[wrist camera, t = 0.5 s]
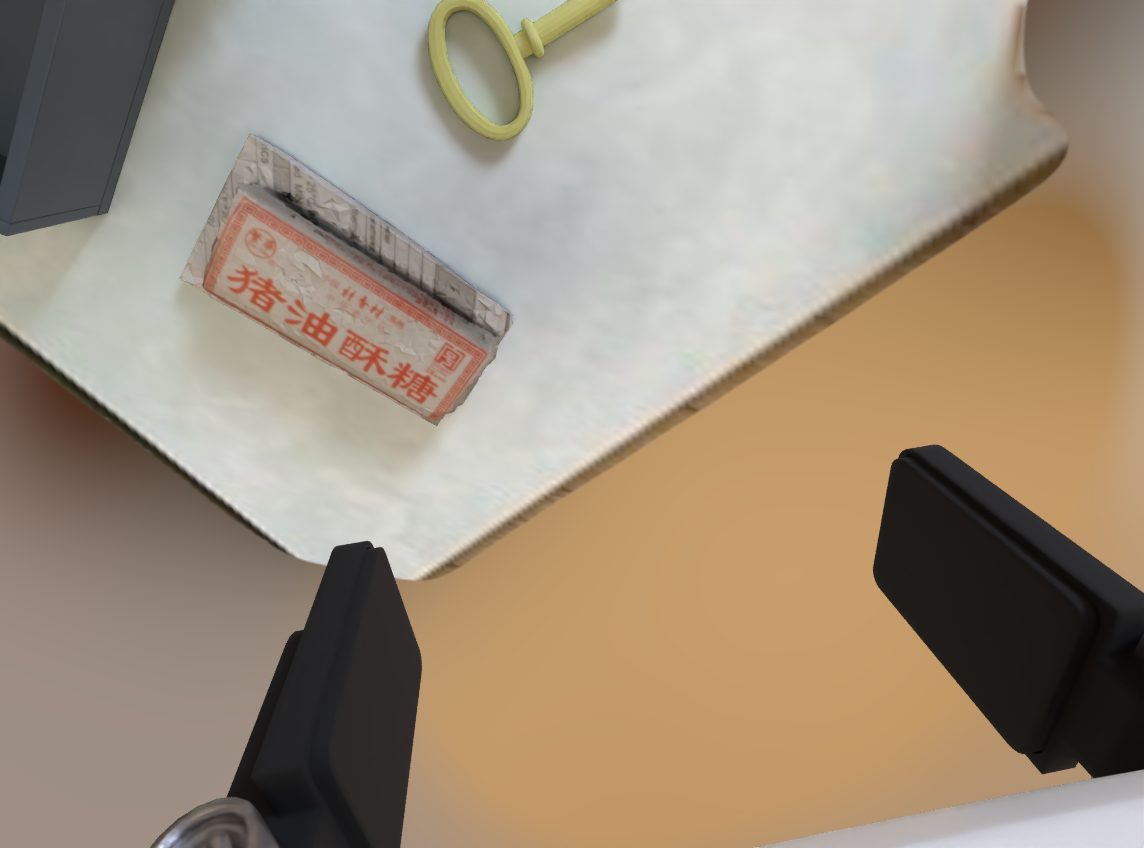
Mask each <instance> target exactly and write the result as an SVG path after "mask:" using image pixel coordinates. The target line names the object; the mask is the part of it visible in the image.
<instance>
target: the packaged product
mask: <svg viewBox="0 0 1144 848" xmlns="http://www.w3.org/2000/svg"><path fill="white" fill-rule="evenodd" d="M179 279H181V280H183V281H185V282H187V283H189V284H191V285H192V286H194V287H196V288H198V289H199V290H201V291H203V292H205V293H206V294H208V295H209V296H210V297H211V298H213V299H215V300H217V301H218V302H220V303H222V304H224V305H226V306H227V307H229V308H231V309H233V310H235V311H238V312H240V313H241V314H243V315H245V316H246V317H248V318H250V319H252V320H253V321H255V322H257V323H259V324H260V325H262V326H264V327H265V328H266V329H268V330H270V331H272V332H274V333H275V334H277V335H279V336H280V337H282V338H284V339H285V340H287V341H289V342H290V343H292V344H294V345H296V346H298V347H299V348H301V349H303V350H305V351H306V352H308V353H310V354H311V355H313V356H315V357H316V358H318V359H320V360H321V361H323V362H325V363H327V364H329V365H330V366H333V367H335V368H338V369H340V370H343V371H345V372H346V373H347V374H348V375H349V376H350V377H352V378H354V379H355V380H357V381H359V382H361V383H362V384H364V385H366V386H368V387H370V388H371V389H373V390H375V391H376V392H378V393H380V394H382V395H384V396H386V397H388V398H389V399H391V400H392V401H394V402H396V403H397V404H399V405H401V406H403V407H404V408H406V409H408V410H409V411H411V412H413V413H415V414H417V415H418V416H420V417H421V418H423V419H425V420H427V421H428V422H430V423H432V424H434V425H436V426H437V425H438V423H439V422H440V421H441V420H442V418H443V417H444V416H445V414H448V413H452V412H454V411H455V410H456V408H457V406H459V405H462V404H463V403H464V401H465V400H466V398H467V397H468V395H469V394H470V392H471V390H472V389H473V387H474V386H475V384H476V383H477V381H478V378H479V377H480V376H481V375H482V372H483V370H484V369H485V368H486V366H487V365H488V364H490V363H491V362H492V361H493V360H494V359H495V357H496V351H497V349H498V348H497V345H498V344H499V342H500V341H501V340H502V338H503V337H504V335H505V334H506V333H507V331H508V330H509V328H510V327H511V325H512V324H513V315H512V314H511V313H509V312H508V311H507V310H506V309H504V308H503V307H502V306H500V305H499V304H498V303H496V302H494V301H493V300H491V299H490V298H488V297H486V296H485V295H483V294H482V293H480V292H479V291H477V290H476V289H475V288H473V287H472V286H471V285H469V284H468V283H467V282H466V281H464V280H463V279H462V278H460V277H459V276H458V275H457V274H455V273H454V272H453V271H451V270H450V269H449V268H448V267H446V266H445V265H444V264H442V263H441V262H440V261H439V260H437V259H436V258H435V257H433V256H432V255H431V254H429V253H428V252H427V251H425V250H424V249H423V248H421V247H420V246H419V245H417V244H416V243H415V242H413V241H412V240H411V239H409V238H408V237H407V236H405V235H404V234H403V233H401V232H400V231H398V230H397V229H396V228H394V227H393V226H391V225H390V224H388V223H387V222H385V221H384V220H382V219H381V218H380V217H378V216H377V215H375V214H374V213H372V212H371V211H369V210H368V209H366V208H365V207H363V206H362V205H361V204H359V203H358V202H356V201H355V200H353V199H352V198H350V197H349V196H347V195H346V194H344V193H343V192H342V191H340V190H339V189H337V188H336V187H334V186H333V185H331V184H330V183H328V182H327V181H325V180H324V179H323V178H321V177H320V176H318V175H317V174H315V173H314V172H312V171H311V170H309V169H308V168H306V167H305V166H304V165H302V164H301V163H299V162H298V161H296V160H295V159H293V158H292V157H290V156H289V155H287V154H286V153H284V152H282V151H281V150H279V149H277V148H276V147H274V146H272V145H271V144H269V143H267V142H266V141H264V140H262V139H261V138H258V137H256V136H253V135H250V134H249V136H248V138H247V141H246V143H245V144H244V146H243V148H242V150H241V152H240V154H239V156H238V158H237V160H236V162H235V165H234V167H233V169H232V171H231V173H230V175H229V176H228V178H227V181H226V183H225V185H224V187H223V189H222V191H221V193H220V195H219V197H218V200H217V202H216V204H215V206H214V208H213V210H212V212H211V214H210V216H209V218H208V221H207V223H206V225H205V227H204V229H203V231H202V233H201V235H200V237H199V238H198V240H197V242H196V244H195V247H194V249H193V251H192V253H191V255H190V257H189V259H188V261H187V265H186V267H185V268H184V270H183V272H182V274H181V276H180V278H179Z"/></svg>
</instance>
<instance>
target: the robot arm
mask: <svg viewBox="0 0 1144 848" xmlns="http://www.w3.org/2000/svg"><path fill="white" fill-rule="evenodd" d="M873 574H874V578H875V581H876V583H877V585H878V587H879V588H880V590H881V591H882V592H883V593H884V594H885V596H886V597H887V598H888V599H889V601H890V602H891V603H892V604H893V605H894V607H895V608H896V609H897V610H898V611H899V613H900V614H901V615H902V616H903V617H904V619H905V620H906V621H907V622H908V624H909V625H910V626H911V627H912V628H913V630H914V631H915V632H916V633H917V634H918V636H919V637H920V638H921V639H922V640H923V642H924V643H925V644H926V645H927V646H928V648H929V649H930V650H931V651H932V653H933V654H934V655H935V656H936V657H937V659H938V660H939V661H940V662H941V663H942V665H943V666H944V667H945V668H946V670H947V671H948V672H949V673H950V674H951V676H952V677H953V678H954V679H955V680H956V682H957V683H958V684H959V685H960V686H961V688H962V689H963V690H964V691H965V693H966V694H967V695H968V696H969V697H970V699H971V700H972V701H973V702H974V703H975V705H976V706H977V707H978V708H979V710H980V711H981V712H982V713H983V714H984V716H985V717H986V718H987V719H988V720H989V721H990V723H991V724H992V725H993V726H994V728H995V729H996V730H997V731H998V733H999V734H1000V735H1001V736H1002V737H1003V738H1004V740H1005V741H1006V742H1007V743H1008V744H1009V745H1010V746H1011V747H1012V749H1014V750H1015V751H1017V752H1018V753H1021V754H1025V755H1026V756H1027V757H1028V758H1029V759H1030V761H1031V762H1032V763H1033V764H1034V765H1035V766H1036V768H1037V769H1038V770H1039V771H1040V772H1041V774H1046V773H1051V772H1056V771H1060V770H1065V769H1070V768H1075V767H1076V765H1077V763H1078V762H1079V763H1080V764H1081V765H1082V766H1083V767H1084V768H1085V769H1086V771H1087V772H1088V773H1089V774H1090V775H1091V779H1089V780H1083V781H1078V782H1073V783H1068V784H1063V785H1058V786H1053V787H1049V788H1044V789H1038V790H1034V791H1028V792H1023V793H1018V794H1014V795H1008V796H1003V797H998V798H993V799H988V800H983V801H979V802H973V803H968V804H963V805H958V806H954V807H948V808H943V809H939V810H933V811H929V812H923V813H918V814H914V815H909V816H904V817H899V818H894V819H889V820H884V821H880V822H875V823H870V824H865V825H860V826H855V827H850V828H846V829H841V830H836V831H831V832H826V833H821V834H816V835H812V836H807V837H802V838H797V839H792V840H787V841H783V842H778V843H773V844H768V845H763V846H759V847H754V848H1144V593H1143V592H1141V591H1140V590H1138V589H1137V588H1136V587H1135V586H1133V585H1132V584H1130V583H1129V582H1127V581H1126V580H1125V579H1124V578H1122V577H1121V576H1119V575H1118V574H1117V573H1115V572H1114V571H1113V570H1111V569H1110V568H1108V567H1107V566H1106V565H1104V564H1103V563H1102V562H1100V561H1099V560H1098V559H1096V558H1095V557H1093V556H1092V555H1091V554H1089V553H1088V552H1087V551H1085V550H1084V549H1082V548H1081V547H1080V546H1078V545H1077V544H1076V543H1074V542H1073V541H1071V540H1070V539H1069V538H1067V537H1066V536H1065V535H1063V534H1062V533H1060V532H1059V531H1058V530H1056V529H1055V528H1053V527H1052V526H1051V525H1050V524H1048V523H1047V522H1045V521H1044V520H1043V519H1041V518H1040V517H1039V516H1037V515H1036V514H1034V513H1033V512H1032V511H1030V510H1029V509H1027V508H1026V507H1025V506H1023V505H1022V504H1021V503H1019V502H1018V501H1017V500H1015V499H1014V498H1012V497H1011V496H1010V495H1008V494H1007V493H1006V492H1004V491H1003V490H1001V489H1000V488H999V487H997V486H996V485H995V484H993V483H992V482H990V481H989V480H988V479H986V478H985V477H984V476H982V475H981V474H980V473H978V472H977V471H975V470H974V469H973V468H971V467H970V466H969V465H967V464H966V463H964V462H963V461H962V460H960V459H959V458H958V457H956V456H955V455H953V454H952V453H951V452H949V451H948V450H946V449H945V448H944V447H942V446H940V445H929V446H923V447H917V448H911V449H906V450H904V451H902V452H901V453H900V455H899V458H898V459H896V460H894V462H893V463H892V465H891V470H890V476H889V482H888V487H887V492H886V498H885V504H884V509H883V515H882V520H881V527H880V532H879V537H878V543H877V549H876V554H875V560H874V566H873ZM421 672H422V661H421V654H420V650H419V647H418V644H417V641H416V638H415V636H414V633H413V630H412V627H411V624H410V621H409V618H408V616H407V613H406V610H405V607H404V604H403V601H402V598H401V595H400V593H399V590H398V587H397V584H396V581H395V578H394V576H393V573H392V570H391V567H390V564H389V561H388V558H387V556H386V553H385V551H384V549H383V548H382V547H378V548H374V547H373V545H372V543H371V542H370V541H364V542H358V543H352V544H346V545H340V546H336V547H335V548H334V549H333V551H332V553H331V556H330V559H329V561H328V564H327V567H326V570H325V573H324V575H323V578H322V581H321V584H320V586H319V589H318V592H317V595H316V597H315V600H314V603H313V606H312V609H311V611H310V614H309V617H308V620H307V622H306V625H305V628H304V630H300V631H295V632H294V633H293V634H292V635H291V636H290V637H289V639H288V641H287V643H286V645H285V648H284V650H283V653H282V655H281V658H280V661H279V663H278V666H277V668H276V671H275V674H274V676H273V679H272V681H271V684H270V687H269V689H268V692H267V695H266V697H265V700H264V702H263V705H262V707H261V710H260V712H259V715H258V718H257V720H256V723H255V726H254V728H253V731H252V733H251V736H250V738H249V741H248V744H247V746H246V749H245V751H244V754H243V756H242V759H241V762H240V764H239V767H238V770H237V772H236V775H235V777H234V780H233V782H232V785H231V788H230V790H229V793H228V795H227V798H219V799H215V800H213V801H210V802H207V803H205V804H203V805H200V806H198V807H196V808H194V809H193V810H191V811H190V812H188V813H187V814H185V815H183V816H182V817H180V818H179V819H177V820H176V821H175V822H174V823H173V824H172V825H171V826H170V827H169V828H168V829H167V830H165V831H164V832H163V833H162V834H161V835H160V836H159V837H158V838H157V839H156V841H155V842H154V843H153V844H152V846H151V847H150V848H400V844H401V836H402V828H403V820H404V812H405V804H406V795H407V787H408V779H409V771H410V763H411V755H412V746H413V738H414V729H415V721H416V713H417V706H418V697H419V689H420V681H421Z"/></svg>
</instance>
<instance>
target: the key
mask: <svg viewBox="0 0 1144 848" xmlns="http://www.w3.org/2000/svg"><path fill="white" fill-rule="evenodd" d="M616 1H617V0H568V1H567V2H565V3H564V4H562V5H561V6H559V7H558V8H556V9H554V10H553V11H551V12H550V13H548V14H547V15H545V16H543V17H542V18H540V19H539V20H537V21H536V22H534V23H532V22H531V21H530V20H529V19H527V18H525V19H523V20H522V23H521V26H522V30H521V31H520V32H518V33H517V34H515V35H513V34H512V32H511V30H510V29H509V27H508V26H507V24H506V23H505V21H504V19H503V18H502V17H501V16H500V15H499V14H498V13H497V11H496V10H495V9H494V8H493V7H491V6H490V5H489V4H487V3H486V2H485V1H483V0H443V1H441V2H440V3H439V4H438V5H437V6H436V8H435V10H434V11H433V13H432V16H431V19H430V22H429V28H428V47H429V55H430V61H431V64H432V68H433V71H434V74H435V76H436V79H437V81H438V84H439V86H440V88H441V90H442V92H443V94H444V96H445V97H446V99H447V101H448V102H449V104H450V105H451V107H452V108H453V110H454V111H455V112H456V114H457V115H458V116H459V117H460V118H461V119H462V121H463V122H464V123H466V124H467V125H468V126H469V127H470V128H472V129H473V130H474V131H476V132H477V133H479V134H481V135H482V136H485V137H487V138H489V139H494V140H508V139H510V138H512V137H514V136H516V135H517V134H518V133H520V132H521V131H522V130H523V129H524V128H525V126H526V125H527V124H528V121H529V119H530V117H531V113H532V110H533V86H532V81H531V76H530V73H529V70H528V67H527V64H526V61H525V58H526V57H528V56H529V55H531V54H534V55H535V56H536V57H538V58H541V57H543V56H544V48H543V47H544V46H545V45H547V44H549V43H550V42H552V41H553V40H555V39H557V38H558V37H560V36H561V35H563V34H565V33H566V32H568V31H569V30H571V29H573V28H574V27H576V26H577V25H579V24H581V23H582V22H584V21H585V20H587V19H589V18H590V17H592V16H593V15H595V14H597V13H598V12H600V11H601V10H603V9H605V8H606V7H608V6H609V5H611V4H612V3H614V2H616ZM459 10H469V11H471V12H474V13H475V14H477V15H478V16H479V17H480V18H481V19H483V20H484V21H485V22H486V23H487V24H488V25H489V27H490V28H491V29H492V30H493V31H494V33H495V34H496V36H497V37H498V39H499V40H500V42H501V44H502V45H503V47H504V49H505V51H506V53H507V55H508V57H509V59H510V62H511V64H512V66H513V69H514V72H515V75H516V78H517V81H518V86H519V91H520V109H519V112H518V115H517V117H516V118H515V119H514V120H513V121H512V122H511V123H509V124H507V125H498V124H494V123H493V122H491V121H490V120H488V119H487V118H486V117H485V116H483V115H482V114H481V113H480V112H479V111H478V110H477V109H476V108H475V107H474V106H473V105H472V103H471V102H470V101H469V99H468V98H467V97H466V95H465V94H464V92H463V91H462V89H461V87H460V85H459V83H458V81H457V79H456V77H455V75H454V73H453V70H452V67H451V64H450V61H449V58H448V53H447V48H446V41H445V26H446V22H447V20H448V18H449V16H450V15H451V14H452V13H454V12H456V11H459Z"/></svg>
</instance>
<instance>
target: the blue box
mask: <svg viewBox="0 0 1144 848" xmlns="http://www.w3.org/2000/svg"><path fill="white" fill-rule="evenodd" d="M173 2H174V0H0V233H1V234H3V235H5V236H10V235H15V234H19V233H23V232H27V231H32V230H36V229H40V228H44V227H49V226H53V225H57V224H61V223H66V222H70V221H74V220H78V219H83V218H87V217H91V216H96V215H101V214H105V213H107V212H108V209H109V206H110V203H111V200H112V196H113V193H114V190H115V187H116V184H117V181H118V177H119V174H120V171H121V168H122V165H123V161H124V158H125V155H126V152H127V149H128V146H129V142H130V139H131V136H132V133H133V130H134V126H135V123H136V120H137V117H138V114H139V111H140V107H141V104H142V101H143V98H144V95H145V91H146V88H147V85H148V82H149V79H150V76H151V72H152V69H153V66H154V63H155V60H156V56H157V53H158V50H159V47H160V44H161V40H162V37H163V34H164V31H165V28H166V25H167V21H168V18H169V15H170V12H171V9H172V5H173Z"/></svg>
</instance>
